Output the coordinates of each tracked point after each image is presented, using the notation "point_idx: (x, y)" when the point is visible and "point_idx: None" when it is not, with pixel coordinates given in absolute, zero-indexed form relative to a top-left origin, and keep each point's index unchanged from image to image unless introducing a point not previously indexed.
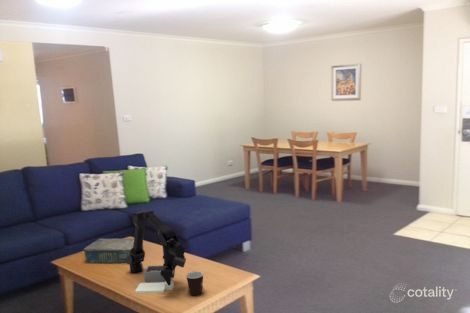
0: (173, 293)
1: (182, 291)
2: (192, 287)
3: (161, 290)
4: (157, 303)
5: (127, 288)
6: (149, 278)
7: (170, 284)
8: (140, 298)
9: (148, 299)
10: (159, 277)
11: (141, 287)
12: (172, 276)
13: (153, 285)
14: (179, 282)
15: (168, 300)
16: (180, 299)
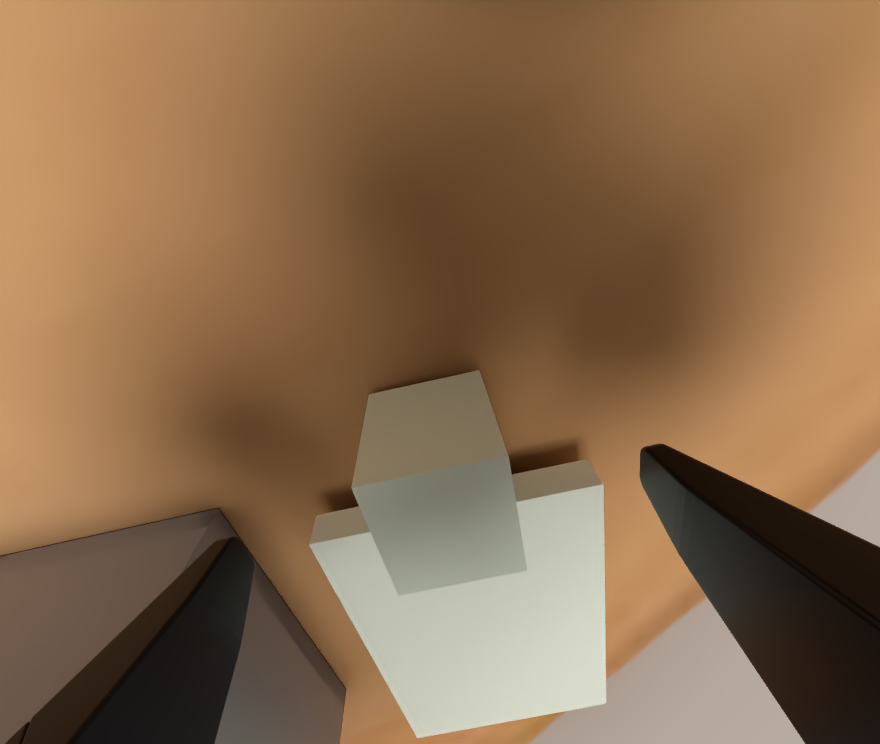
0: (562, 314)
1: (471, 169)
2: None
3: (602, 505)
4: (860, 403)
5: (470, 734)
6: (314, 738)
7: (666, 451)
8: (675, 600)
9: None
10: (254, 687)
11: (519, 696)
12: (233, 582)
13: (453, 636)
14: (133, 389)
15: (812, 289)
16: (842, 50)
